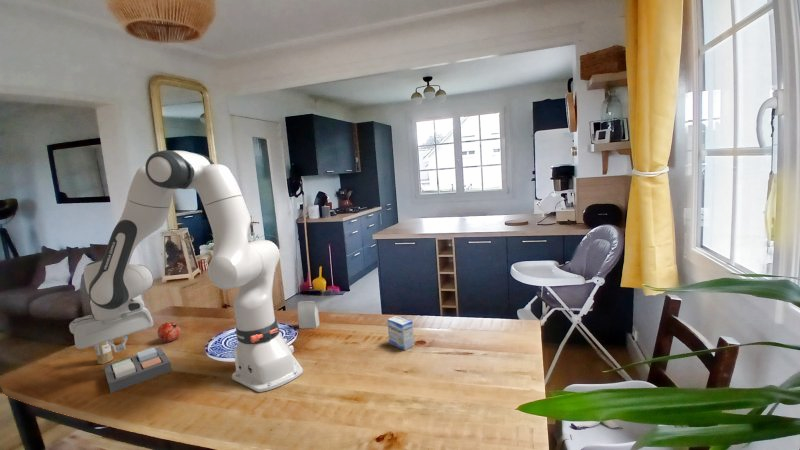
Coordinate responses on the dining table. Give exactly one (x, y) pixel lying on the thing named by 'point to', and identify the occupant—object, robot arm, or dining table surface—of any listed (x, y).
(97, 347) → the sprinkles bottle
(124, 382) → the keypad
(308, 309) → the light grey tapered block
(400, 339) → the medicine box
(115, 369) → the key offwhite
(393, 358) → the dining table surface
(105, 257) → the robot arm
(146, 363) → the key terracotta
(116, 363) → the key sage
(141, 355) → the key bluegrey
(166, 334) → the pomegranate
